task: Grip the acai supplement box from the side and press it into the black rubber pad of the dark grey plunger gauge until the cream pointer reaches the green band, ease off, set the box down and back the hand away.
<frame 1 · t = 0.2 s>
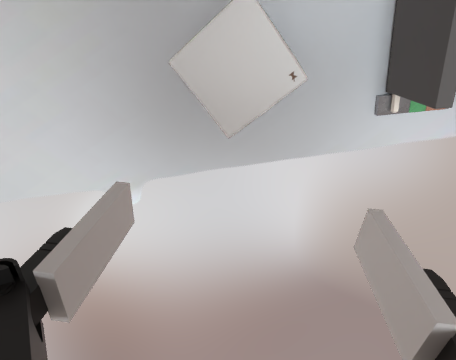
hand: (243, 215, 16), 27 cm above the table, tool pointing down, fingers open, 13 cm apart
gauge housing: (390, 41, 35), on the table
supplement box: (243, 60, 37), on the table
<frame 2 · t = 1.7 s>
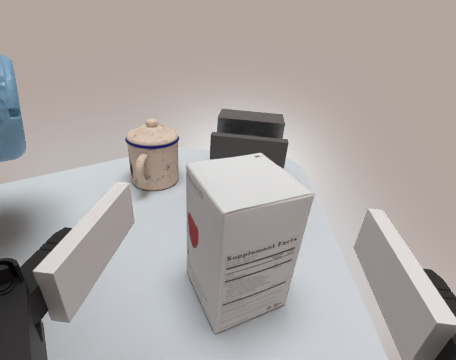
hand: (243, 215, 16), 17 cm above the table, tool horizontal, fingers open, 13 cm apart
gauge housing: (242, 201, 49), on the table
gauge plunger: (254, 159, 50), point 6 cm above the table, slide at 0.0 cm
teacup with lid: (153, 184, 52), on the table
supplement box: (233, 288, 33), on the table
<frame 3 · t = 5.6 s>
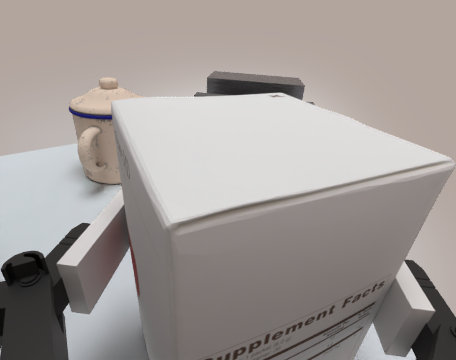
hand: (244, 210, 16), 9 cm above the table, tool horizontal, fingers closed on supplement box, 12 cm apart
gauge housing: (243, 198, 33), on the table
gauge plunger: (260, 137, 34), point 6 cm above the table, slide at 0.0 cm
teacup with lid: (115, 175, 36), on the table
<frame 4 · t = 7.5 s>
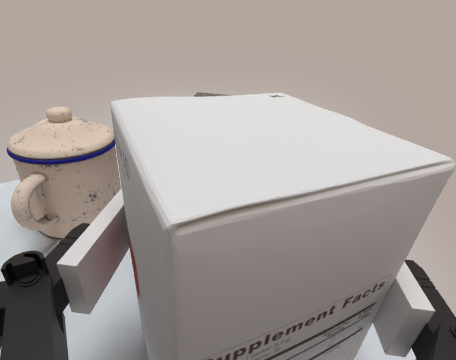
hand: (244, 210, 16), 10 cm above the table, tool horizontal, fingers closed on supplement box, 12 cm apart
teacup with lid: (75, 223, 30), on the table
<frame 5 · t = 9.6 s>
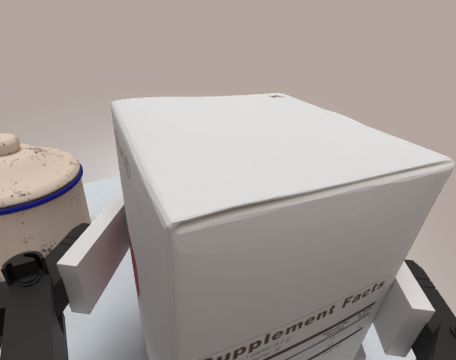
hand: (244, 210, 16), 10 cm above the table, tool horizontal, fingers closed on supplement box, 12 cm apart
teacup with lid: (32, 277, 23), on the table
when the fingers open (9 cm above the table, at t = 12.2 s): supplement box stays where it is, on the table.
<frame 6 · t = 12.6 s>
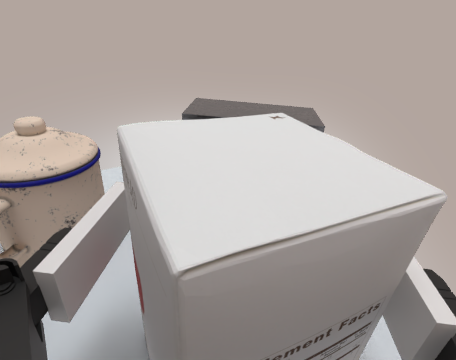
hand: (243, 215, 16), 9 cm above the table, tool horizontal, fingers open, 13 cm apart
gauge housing: (234, 296, 22), on the table
teacup with lid: (53, 250, 26), on the table
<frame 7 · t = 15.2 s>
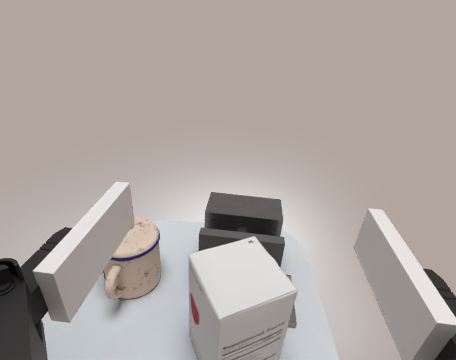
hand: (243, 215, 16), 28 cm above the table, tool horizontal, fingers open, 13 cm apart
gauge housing: (233, 313, 42), on the table
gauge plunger: (248, 246, 46), point 6 cm above the table, slide at 3.3 cm
teacup with lid: (130, 285, 45), on the table
supplement box: (230, 352, 37), on the table
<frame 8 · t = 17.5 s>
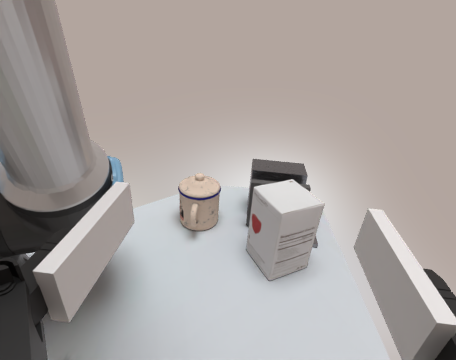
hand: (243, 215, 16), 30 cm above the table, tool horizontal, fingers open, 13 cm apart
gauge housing: (273, 239, 60), on the table
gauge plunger: (281, 196, 64), point 6 cm above the table, slide at 3.3 cm
teacup with lid: (197, 224, 63), on the table
supplement box: (275, 259, 55), on the table
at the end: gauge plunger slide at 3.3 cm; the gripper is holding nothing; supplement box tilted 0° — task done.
